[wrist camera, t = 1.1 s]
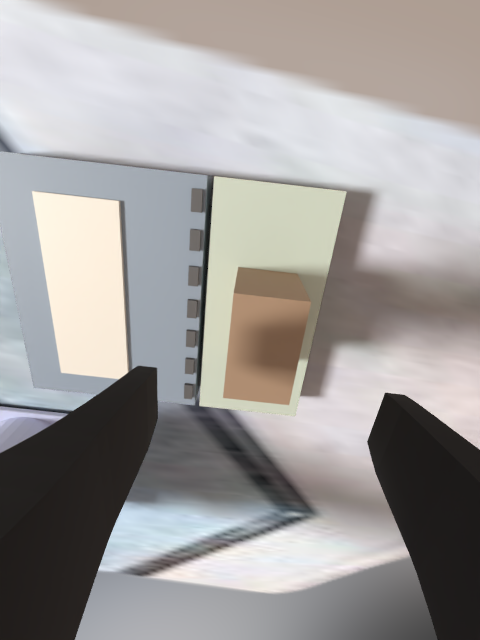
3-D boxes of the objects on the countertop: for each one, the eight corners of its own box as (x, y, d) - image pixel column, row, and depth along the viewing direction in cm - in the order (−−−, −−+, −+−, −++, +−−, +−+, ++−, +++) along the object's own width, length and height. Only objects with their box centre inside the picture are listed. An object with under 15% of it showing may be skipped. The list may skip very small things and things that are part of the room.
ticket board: (199, 385, 21) (194, 407, 19) (53, 369, 21) (31, 389, 19) (212, 176, 16) (206, 175, 14) (15, 153, 16) (-20, 149, 14)
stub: (291, 397, 21) (305, 471, 16) (203, 388, 21) (186, 458, 15) (336, 190, 15) (380, 194, 10) (218, 176, 15) (199, 173, 10)
